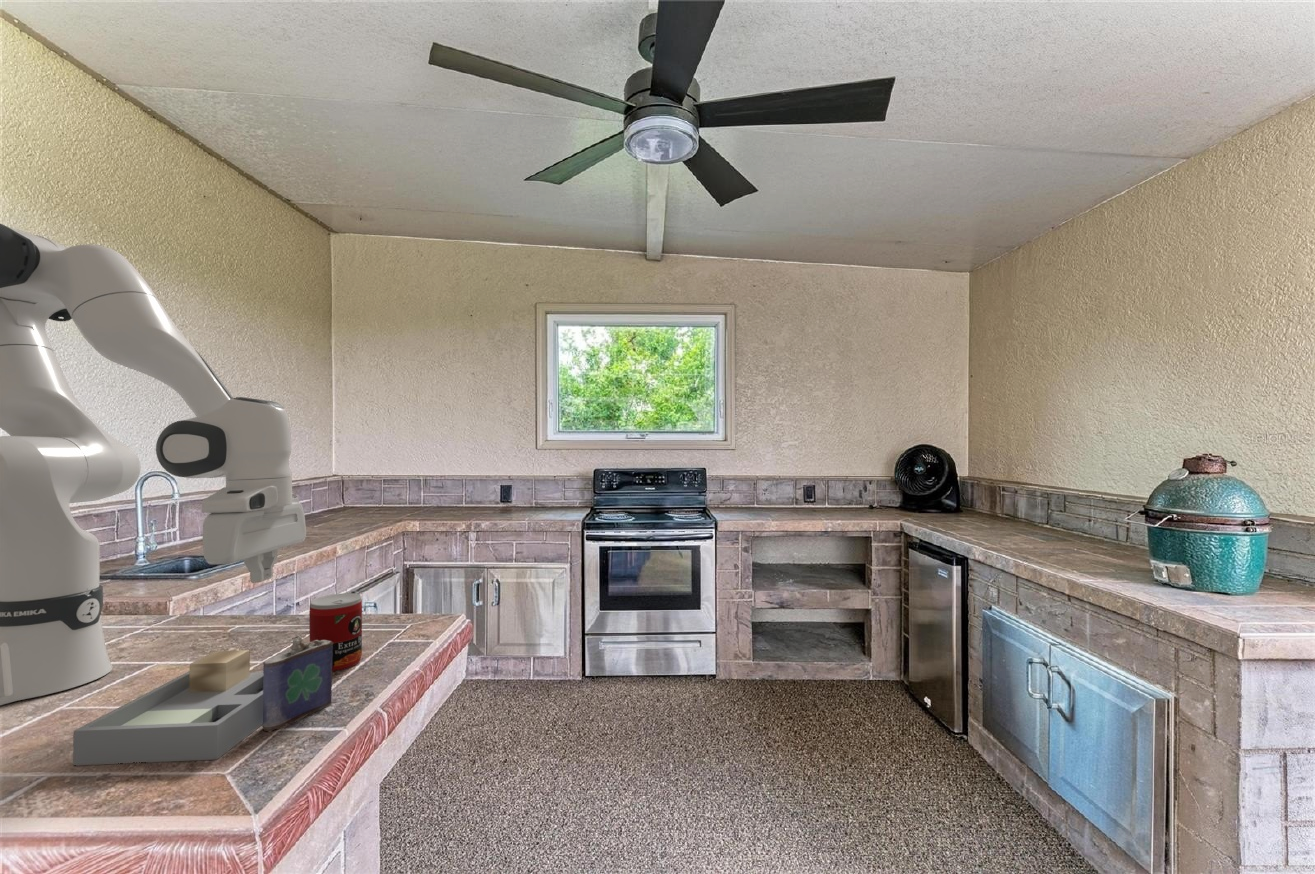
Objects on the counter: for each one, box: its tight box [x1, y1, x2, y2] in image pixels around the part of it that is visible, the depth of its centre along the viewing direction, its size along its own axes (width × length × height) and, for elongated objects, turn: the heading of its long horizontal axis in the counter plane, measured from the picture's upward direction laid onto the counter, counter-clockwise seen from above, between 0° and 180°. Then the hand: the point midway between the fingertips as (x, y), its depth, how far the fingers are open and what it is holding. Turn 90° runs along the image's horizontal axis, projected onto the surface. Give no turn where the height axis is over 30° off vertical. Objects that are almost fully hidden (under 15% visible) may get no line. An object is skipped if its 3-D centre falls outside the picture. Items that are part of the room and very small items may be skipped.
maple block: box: [189, 649, 251, 692], centre depth 81 cm, size 5×5×4 cm
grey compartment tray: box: [72, 670, 264, 767], centre depth 75 cm, size 16×21×4 cm
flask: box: [261, 635, 333, 733], centre depth 76 cm, size 9×3×11 cm, turn 157°
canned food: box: [308, 592, 363, 672], centre depth 94 cm, size 8×8×11 cm
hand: (261, 580), depth 90 cm, fingers closed
